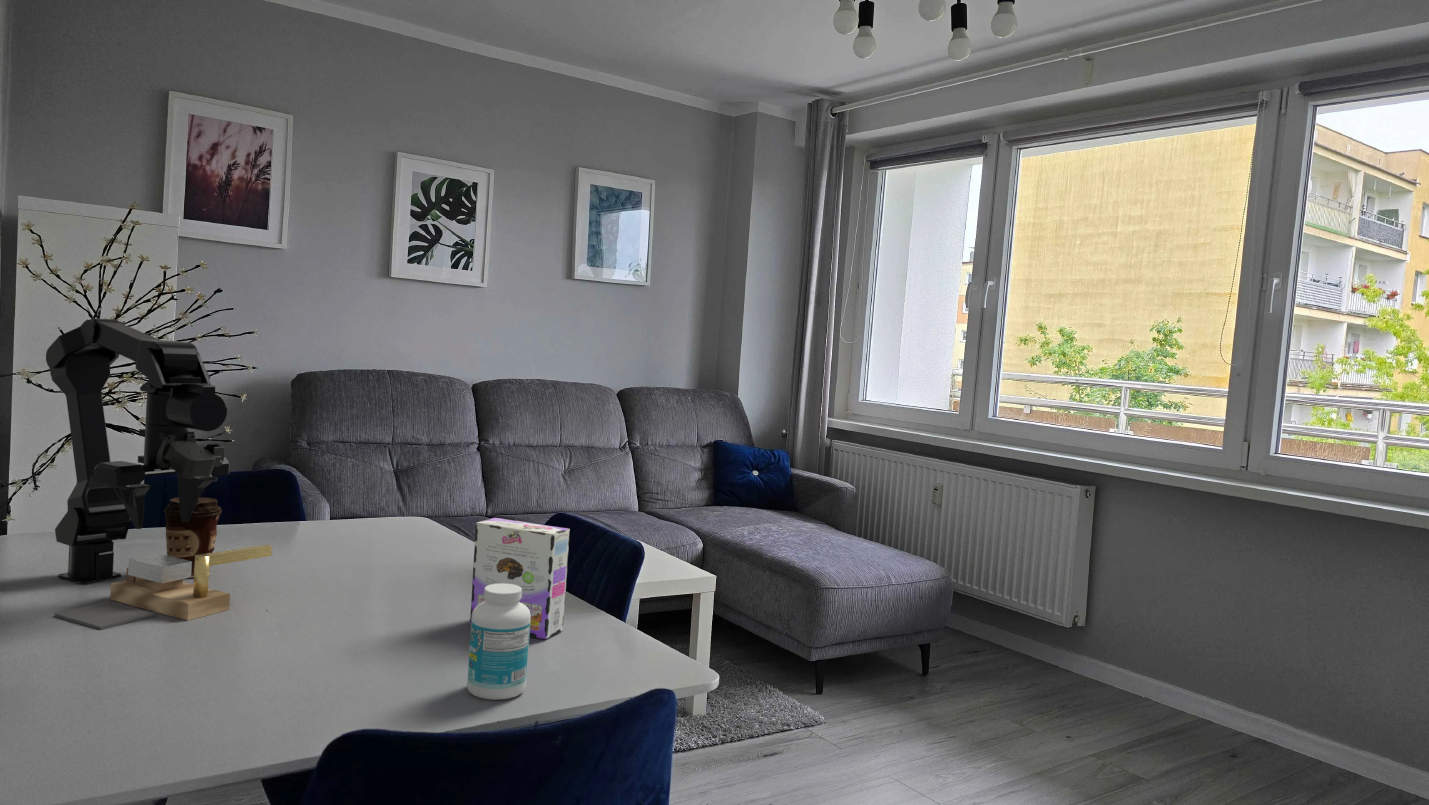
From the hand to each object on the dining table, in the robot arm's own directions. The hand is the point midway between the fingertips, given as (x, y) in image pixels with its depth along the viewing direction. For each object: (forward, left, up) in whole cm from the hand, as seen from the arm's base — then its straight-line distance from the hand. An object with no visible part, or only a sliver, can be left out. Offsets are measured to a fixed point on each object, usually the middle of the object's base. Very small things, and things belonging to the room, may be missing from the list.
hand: (162, 524), depth 145 cm
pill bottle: (+63, 0, -12) cm, 64 cm away
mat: (+1, -9, -12) cm, 15 cm away
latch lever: (+10, +5, -9) cm, 14 cm away
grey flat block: (0, 0, -8) cm, 8 cm away
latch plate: (+2, 0, -12) cm, 12 cm away
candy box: (+50, +23, -12) cm, 56 cm away
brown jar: (-10, +13, -12) cm, 20 cm away
